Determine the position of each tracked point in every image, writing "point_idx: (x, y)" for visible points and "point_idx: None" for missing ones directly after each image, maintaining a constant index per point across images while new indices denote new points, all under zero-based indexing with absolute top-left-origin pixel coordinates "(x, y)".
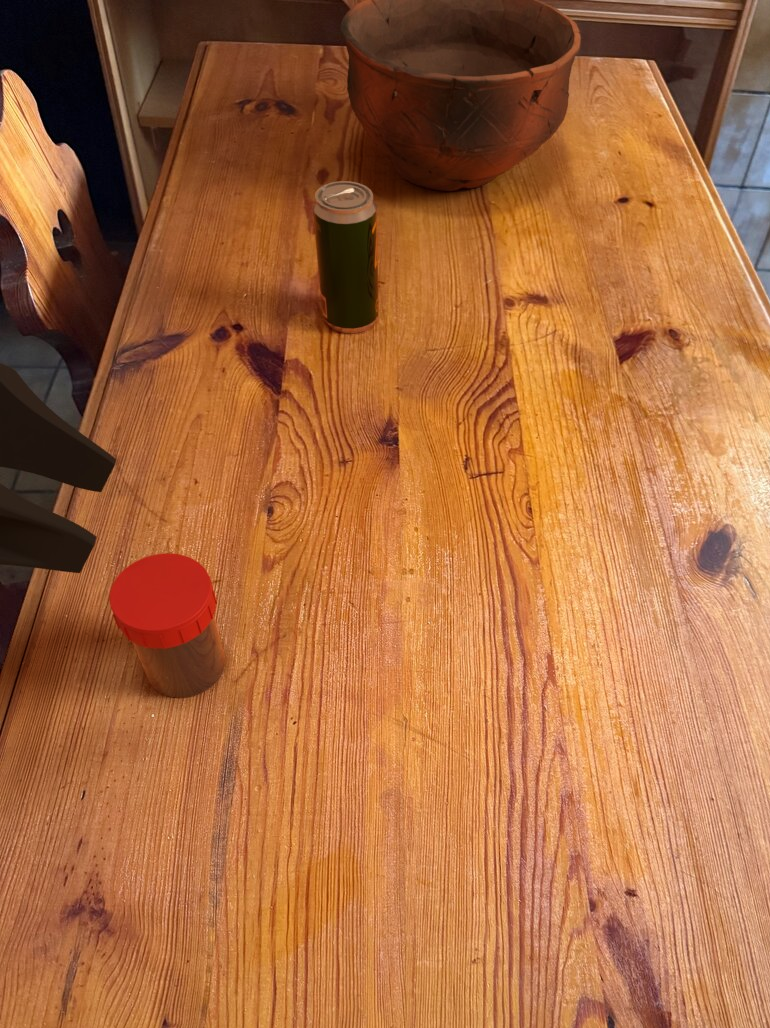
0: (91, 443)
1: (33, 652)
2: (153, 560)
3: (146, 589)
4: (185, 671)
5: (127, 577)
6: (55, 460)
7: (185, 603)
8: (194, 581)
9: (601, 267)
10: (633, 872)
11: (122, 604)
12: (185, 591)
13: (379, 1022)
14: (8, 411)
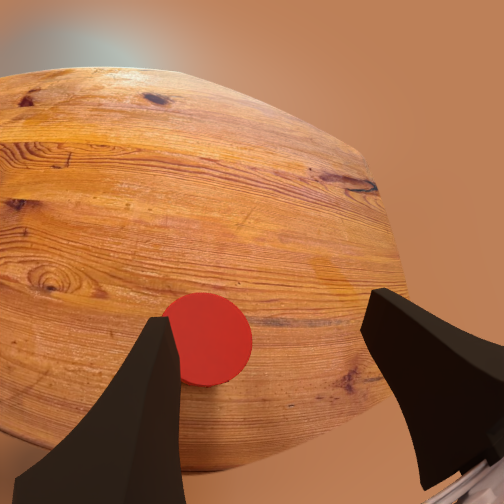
0: (143, 343)
1: None
2: None
3: (205, 350)
4: None
5: (189, 370)
6: (168, 413)
7: (222, 313)
8: (195, 307)
9: None
10: (303, 165)
11: (223, 371)
12: (207, 314)
13: (366, 256)
14: (149, 498)
